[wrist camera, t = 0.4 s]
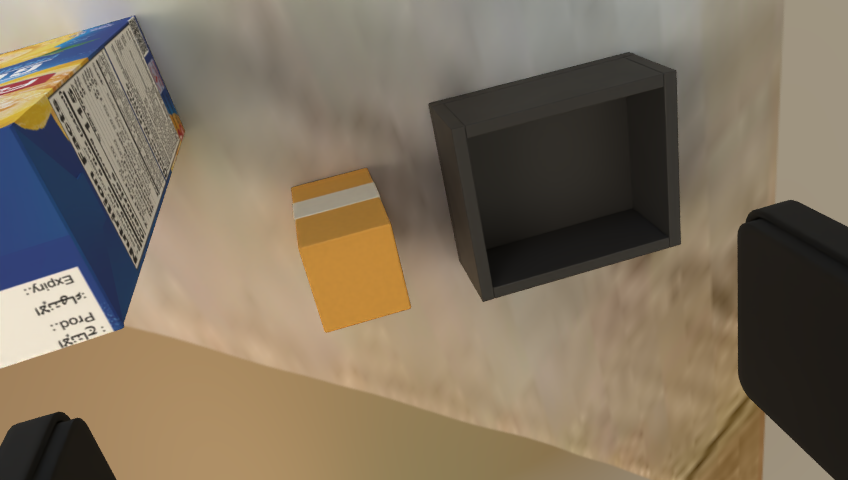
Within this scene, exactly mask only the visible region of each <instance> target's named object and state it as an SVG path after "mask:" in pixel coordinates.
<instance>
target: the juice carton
mask: <svg viewBox="0 0 848 480" xmlns="http://www.w3.org/2000/svg"><path fill="white" fill-rule="evenodd" d="M291 192H292V200H293V204H292V208H293V216H294V222H295V225H296V232H297V240H298V248H299V252H300V255H301V258H302V262H303V265H304V268H305V271H306V274H307V277H308V280H309V283H310V287H311V290H312V293H313V296H314V299H315V302H316V305H317V309H318V312H319V315H320V318H321V321H322V324H323V327H324V331H325V332H326V333H327V332H331V331H334V330H338V329H341V328H345V327H348V326H352V325H355V324H359V323H362V322H365V321H369V320H372V319H376V318H379V317H383V316H386V315H390V314H393V313H397V312H400V311H404V310H407V309H410V308H411V304H410V300H409V296H408V292H407V288H406V284H405V280H404V276H403V271H402V267H401V263H400V259H399V255H398V251H397V247H396V243H395V238H394V234H393V230H392V226H391V223H390V221H389V218H388V216H387V213H386V211H385V209H384V206H383V204H382V201H381V197H380V194H379V192H378V190H377V187H376V185H375V183H374V182H373V181H372V178H371V176H370V174H369V171H368V169H367V168H364V169H360V170H356V171H352V172H349V173H345V174H341V175H337V176H334V177H330V178H326V179H322V180H318V181H315V182H311V183H307V184H303V185H300V186H296V187H292V188H291Z"/></svg>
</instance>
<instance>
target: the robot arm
mask: <svg viewBox="0 0 848 480" xmlns="http://www.w3.org/2000/svg"><path fill="white" fill-rule="evenodd" d="M738 375H739V380H740V383H741V385H742V388H743V390H744V391H745V393H746V394H747V396H748V397H749V398H750V399H751V400H752V401H753V402H754V403H755V404H756V405H757V406H758V407H759V408H760V409H761V410H763V411H764V412H765V413H766V414H767V415H768V416H769V417H770V418H771V419H772V420H773V421H774V422H775V423H776V424H777V425H778V426H779V427H780V428H781V429H782V430H783V431H784V432H786V433H787V434H788V435H789V436H790V437H791V438H792V439H793V440H794V441H795V442H796V443H797V444H798V445H799V446H800V447H801V448H802V449H803V450H804V451H805V452H806V453H807V454H809V455H810V456H811V457H812V458H813V459H814V460H815V461H816V462H817V463H818V464H819V465H820V466H821V467H822V468H823V469H824V470H825V471H826V472H827V473H828V474H829V475H830V476H832V477H833V478H834V479H835V480H848V227H847V226H845V225H843V224H841V223H839V222H837V221H835V220H833V219H831V218H829V217H827V216H825V215H823V214H821V213H819V212H817V211H815V210H813V209H811V208H809V207H807V206H805V205H803V204H801V203H799V202H797V201H794V200H788V201H784V202H781V203H777V204H774V205H770V206H767V207H763V208H760V209H756V210H753V211H752V212H750V213H749V214H748V217H747V219H746V223H744V224H742V225H741V226H740V228H739V230H738ZM0 480H116V478H115V476H114V474H113V473H112V470H111V469H110V467H109V465H108V463H107V461H106V459H105V457H104V456H103V454H102V452H101V450H100V448H99V447H98V444H97V443H96V441H95V439H94V437H93V435H92V433H91V431H90V430H89V428H88V426H87V424H86V423H85V422H84V421H83V420H82V419H81V418H75V419H72V420H71V419H70V418H69V417H68V416H67V415H66V414H65V413H63V412H56V413H53V414H50V415H46V416H42V417H39V418H35V419H32V420H28V421H25V422H22V423H18V424H16V425H13V426H12V427H11V428H10V429H9V431H8V432H7V434H6V436H5V438H4V440H3V442H2V444H1V446H0Z"/></svg>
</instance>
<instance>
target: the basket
mask: <svg viewBox="0 0 848 480" xmlns="http://www.w3.org/2000/svg"><path fill="white" fill-rule="evenodd" d="M429 109H430V114H431V119H432V124H433V129H434V134H435V140H436V145H437V150H438V155H439V160H440V165H441V170H442V175H443V180H444V185H445V190H446V195H447V200H448V205H449V211H450V216H451V221H452V226H453V231H454V236H455V241H456V246H457V251H458V256H459V261H460V263H461V264H462V266H463V268H464V270H465V271H466V273H467V275H468V277H469V278H470V280H471V282H472V284H473V285H474V287H475V289H476V290H477V292H478V294H479V296H480V297H481V299H482V301H483V302H484V301H488V300H491V299H494V298H498V297H501V296H504V295H508V294H511V293H515V292H518V291H522V290H525V289H529V288H532V287H535V286H539V285H542V284H546V283H549V282H553V281H556V280H560V279H563V278H566V277H570V276H573V275H577V274H580V273H584V272H587V271H591V270H594V269H598V268H601V267H604V266H608V265H611V264H615V263H618V262H622V261H625V260H629V259H632V258H635V257H639V256H642V255H646V254H649V253H653V252H656V251H660V250H663V249H666V248H669V247H673V246H677V245H680V244H681V233H680V194H679V156H678V117H677V78H676V70H673V69H671V68H668V67H666V66H663V65H660V64H658V63H655V62H653V61H650V60H648V59H645V58H642V57H640V56H637V55H635V54H633V53H630V52H628V53H624V54H620V55H616V56H612V57H608V58H604V59H600V60H597V61H593V62H589V63H585V64H581V65H577V66H573V67H569V68H565V69H562V70H558V71H554V72H550V73H546V74H542V75H538V76H534V77H530V78H527V79H523V80H519V81H515V82H511V83H507V84H503V85H499V86H495V87H492V88H488V89H484V90H480V91H476V92H472V93H468V94H464V95H460V96H457V97H453V98H449V99H445V100H441V101H437V102H433V103H429Z"/></svg>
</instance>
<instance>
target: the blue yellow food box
mask: <svg viewBox="0 0 848 480" xmlns="http://www.w3.org/2000/svg"><path fill="white" fill-rule="evenodd" d="M184 133H185V130H184V128H183V125H182V123H181V121H180V118H179V116H178V114H177V111H176V109H175V107H174V104H173V102H172V100H171V98H170V95H169V93H168V91H167V88H166V86H165V84H164V81H163V79H162V77H161V74H160V72H159V70H158V67H157V65H156V63H155V61H154V58H153V56H152V54H151V51H150V49H149V47H148V44H147V42H146V40H145V37H144V35H143V33H142V30H141V28H140V26H139V24H138V21H137V19H136V17H135V16H131V17H128V18H124V19H121V20H117V21H114V22H110V23H107V24H104V25H100V26H97V27H93V28H90V29H86V30H83V31H80V32H76V33H73V34H69V35H66V36H62V37H59V38H56V39H52V40H49V41H45V42H42V43H38V44H35V45H32V46H28V47H25V48H21V49H18V50H14V51H11V52H7V53H4V54H1V55H0V368H3V367H7V366H9V365H13V364H16V363H19V362H22V361H25V360H28V359H30V358H34V357H37V356H40V355H43V354H46V353H49V352H52V351H55V350H58V349H61V348H64V347H67V346H70V345H74V344H77V343H80V342H83V341H86V340H89V339H92V338H95V337H98V336H101V335H104V334H107V333H110V332H113V331H116V330H119V329H122V328H124V320H125V317H126V314H127V311H128V308H129V305H130V302H131V298H132V295H133V292H134V289H135V286H136V283H137V280H138V277H139V273H140V270H141V267H142V264H143V261H144V258H145V255H146V252H147V248H148V245H149V242H150V239H151V236H152V233H153V230H154V227H155V223H156V220H157V217H158V214H159V211H160V208H161V205H162V202H163V198H164V195H165V192H166V189H167V186H168V183H169V180H170V177H171V174H172V170H173V167H174V164H175V161H176V158H177V155H178V152H179V149H180V145H181V142H182V139H183V136H184Z"/></svg>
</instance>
